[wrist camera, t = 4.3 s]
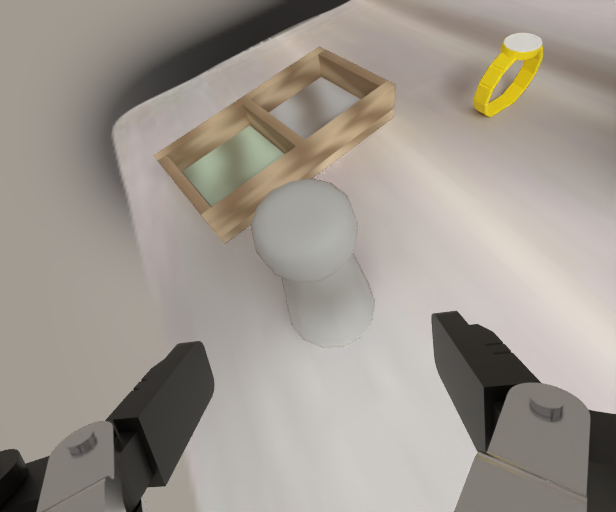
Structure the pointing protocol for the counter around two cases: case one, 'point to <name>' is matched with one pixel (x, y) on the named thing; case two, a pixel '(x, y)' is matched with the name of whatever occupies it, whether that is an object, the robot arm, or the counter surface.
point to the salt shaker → (315, 260)
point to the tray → (276, 137)
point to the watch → (511, 50)
